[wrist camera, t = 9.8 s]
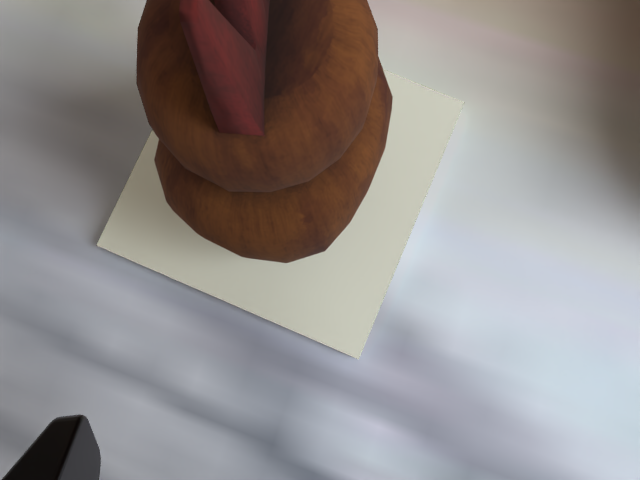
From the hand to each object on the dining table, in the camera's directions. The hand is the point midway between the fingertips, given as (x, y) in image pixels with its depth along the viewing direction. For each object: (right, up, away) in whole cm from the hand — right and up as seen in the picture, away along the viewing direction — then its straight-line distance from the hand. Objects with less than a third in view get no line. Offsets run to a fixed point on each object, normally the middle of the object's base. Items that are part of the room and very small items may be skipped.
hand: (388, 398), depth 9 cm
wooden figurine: (-2, +5, +12) cm, 13 cm away
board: (-2, +5, +12) cm, 14 cm away
